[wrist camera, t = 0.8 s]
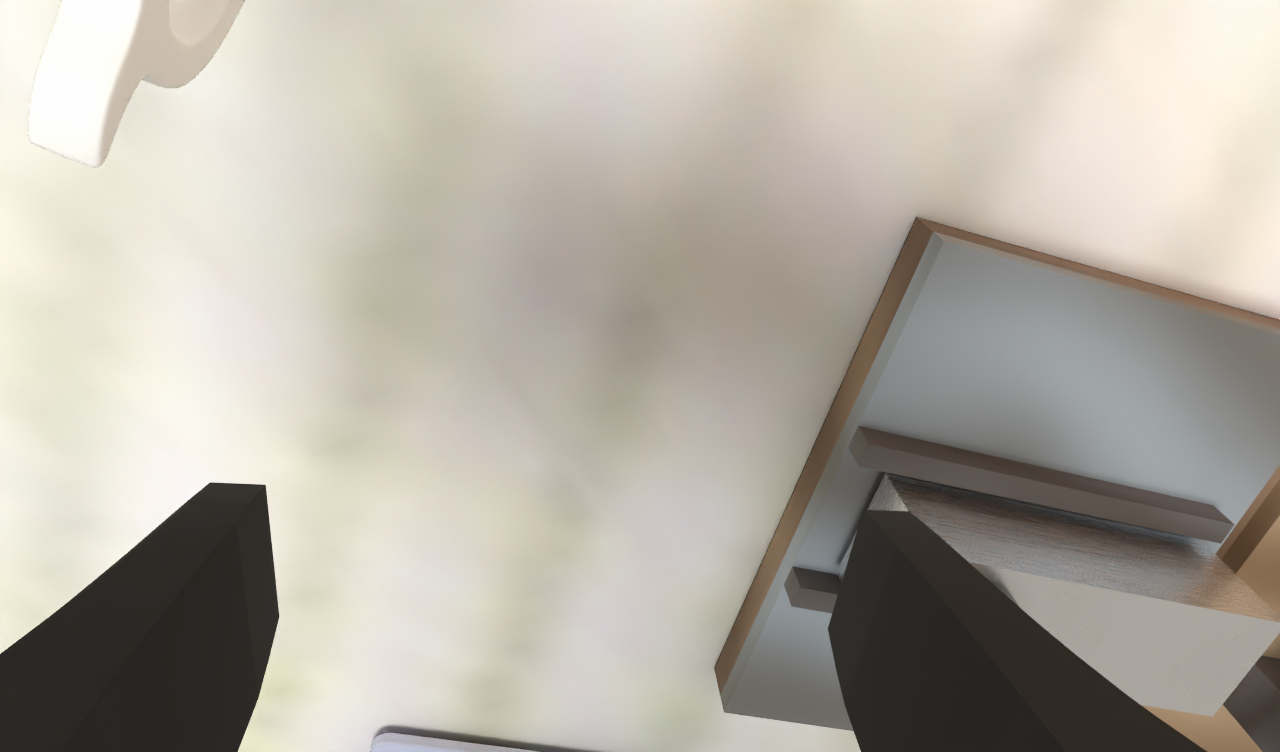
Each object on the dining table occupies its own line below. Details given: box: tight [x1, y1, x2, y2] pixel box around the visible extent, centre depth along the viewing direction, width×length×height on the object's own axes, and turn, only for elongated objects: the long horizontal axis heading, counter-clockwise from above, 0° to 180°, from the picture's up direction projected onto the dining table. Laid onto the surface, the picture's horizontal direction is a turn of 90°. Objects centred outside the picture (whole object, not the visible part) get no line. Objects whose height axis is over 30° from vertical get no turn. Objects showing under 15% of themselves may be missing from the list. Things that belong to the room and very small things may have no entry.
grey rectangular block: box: [837, 473, 1280, 717], centre depth 20 cm, size 3×9×5 cm, turn 73°
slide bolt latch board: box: [714, 217, 1280, 752], centre depth 23 cm, size 14×22×6 cm, turn 73°
